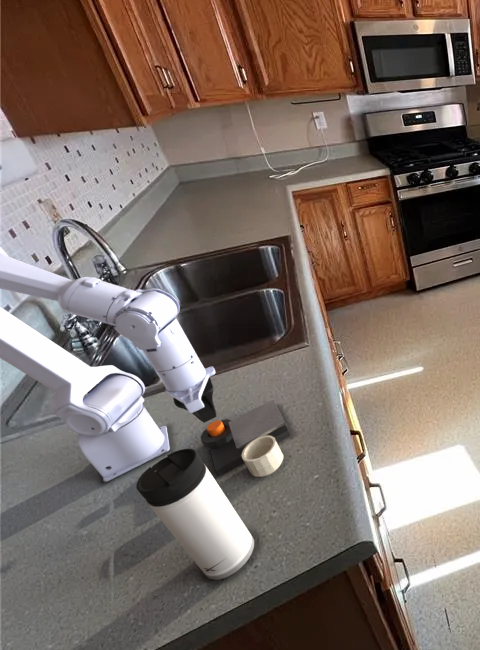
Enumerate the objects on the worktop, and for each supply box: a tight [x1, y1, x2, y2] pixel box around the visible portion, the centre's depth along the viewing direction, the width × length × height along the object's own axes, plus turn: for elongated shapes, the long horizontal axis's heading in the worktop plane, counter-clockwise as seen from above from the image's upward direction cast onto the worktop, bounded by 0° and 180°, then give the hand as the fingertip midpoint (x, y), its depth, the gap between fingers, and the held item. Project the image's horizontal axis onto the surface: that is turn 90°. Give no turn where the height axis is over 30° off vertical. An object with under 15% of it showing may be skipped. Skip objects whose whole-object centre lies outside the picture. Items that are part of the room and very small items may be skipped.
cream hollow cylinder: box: [242, 436, 284, 478], centre depth 72 cm, size 5×5×4 cm
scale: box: [199, 418, 292, 476], centre depth 78 cm, size 13×11×3 cm
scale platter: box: [228, 399, 287, 450], centre depth 77 cm, size 8×8×1 cm
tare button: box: [206, 419, 225, 437], centre depth 77 cm, size 2×2×2 cm
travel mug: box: [135, 448, 255, 581], centre depth 55 cm, size 6×7×20 cm
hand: (209, 417), depth 75 cm, fingers closed
